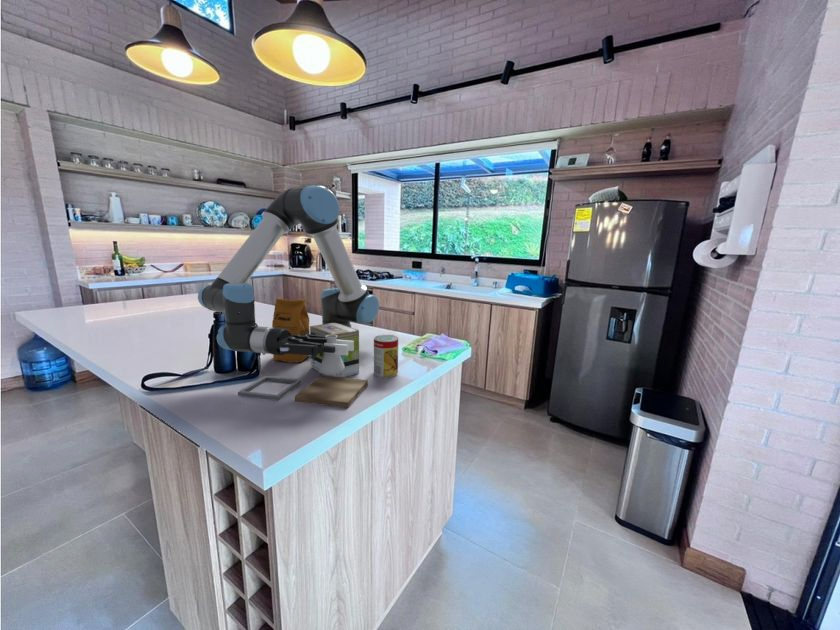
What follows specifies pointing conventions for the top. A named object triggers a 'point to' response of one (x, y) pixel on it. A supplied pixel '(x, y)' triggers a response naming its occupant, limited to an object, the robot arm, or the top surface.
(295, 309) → the coffee package
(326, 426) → the top surface
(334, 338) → the flask
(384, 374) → the canned food
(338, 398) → the walnut board
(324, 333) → the tea box
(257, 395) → the grey square frame
